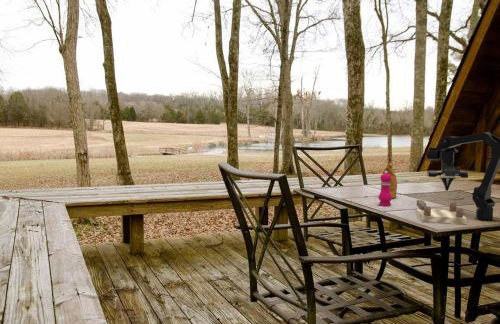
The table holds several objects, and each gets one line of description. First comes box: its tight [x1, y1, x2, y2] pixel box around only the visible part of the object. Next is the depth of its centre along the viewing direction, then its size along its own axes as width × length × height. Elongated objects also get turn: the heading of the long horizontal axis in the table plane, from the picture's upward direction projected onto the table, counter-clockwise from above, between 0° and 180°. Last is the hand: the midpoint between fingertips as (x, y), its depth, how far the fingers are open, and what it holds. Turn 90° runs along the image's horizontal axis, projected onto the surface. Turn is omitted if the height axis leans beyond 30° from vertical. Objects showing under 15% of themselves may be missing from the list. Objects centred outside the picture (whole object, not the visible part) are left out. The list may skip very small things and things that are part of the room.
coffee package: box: [380, 162, 398, 199], centre depth 266 cm, size 10×12×22 cm
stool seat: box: [416, 202, 467, 225], centre depth 205 cm, size 19×19×7 cm
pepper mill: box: [378, 171, 393, 207], centre depth 239 cm, size 7×7×20 cm
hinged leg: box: [416, 199, 427, 210], centre depth 218 cm, size 12×3×3 cm, turn 166°
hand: (446, 190), depth 219 cm, fingers closed
